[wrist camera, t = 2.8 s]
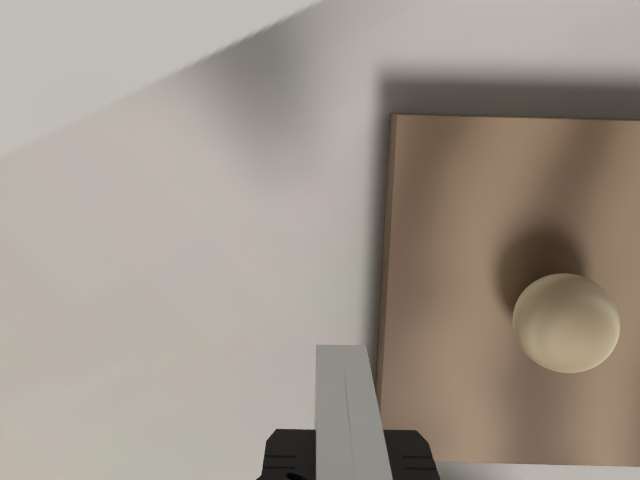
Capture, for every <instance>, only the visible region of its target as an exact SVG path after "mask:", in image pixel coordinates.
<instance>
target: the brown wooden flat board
mask: <svg viewBox="0 0 640 480" xmlns="http://www.w3.org/2000/svg"><path fill="white" fill-rule="evenodd" d="M560 273H568V274H575V275H579V276H582V277H585V278H587V279H589V280H591V281H593V282H595V283H596V284H598V285H599V286H600V287H602V288H603V289H604V290H605V291H606V292H607V293H608V295H609V296H610V297H611V299H612V300H613V302H614V304H615V305H616V308H617V311H618V314H619V318H620V334H619V338H618V341H617V344H616V346H615V348H614V350H613V351H612V353H611V354H610V355H609V356H608V357H607V359H605V360H604V361H603V362H602V363H601V364H599V365H598V366H596V367H594V368H592V369H589V370H586V371H583V372H578V373H561V372H556V371H552V370H549V369H547V368H544V367H542V366H540V365H539V364H537V363H536V362H534V361H533V360H532V359H531V358H530V357H528V356H527V355H526V353H525V352H524V351H523V350H522V348H521V347H520V345H519V343H518V342H517V339H516V337H515V333H514V329H513V311H514V307H515V304H516V302H517V300H518V298H519V296H520V295H521V293H522V292H523V291H524V290H525V289H526V288H527V287H528V286H529V285H530V284H532V283H533V282H534V281H536V280H538V279H540V278H542V277H545V276H548V275H552V274H560ZM375 393H376V398H377V403H378V408H379V413H380V418H381V423H382V428H383V430H417V431H418V432H419V433H420V435H421V436H422V437H423V438H424V439H425V440H426V441H427V442H428V443H429V446H430V449H431V452H432V455H433V459H434V462H469V463H509V464H549V465H590V466H630V467H640V120H631V119H592V118H553V117H514V116H475V115H436V114H397V113H390V127H389V146H388V165H387V183H386V202H385V220H384V239H383V258H382V276H381V295H380V314H379V332H378V351H377V369H376V388H375Z"/></svg>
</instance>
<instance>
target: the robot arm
mask: <svg viewBox="0 0 640 480" xmlns="http://www.w3.org/2000/svg"><path fill="white" fill-rule="evenodd" d="M256 480H440V477H439V474H438V471H437V468H436V465H435V462H434V459H433V455H432V452H431V449H430V446H429V443H428V442H427V441H426V440H425V439H424V438H423V437H422V436H421V435H420V433H419V432H418V431H417V430H383V428H382V423H381V418H380V413H379V408H378V403H377V398H376V393H375V387H374V382H373V377H372V372H371V367H370V362H369V357H368V352H367V347H366V346H350V345H316V381H315V420H314V430H300V429H276V430H275V431H274V433H273V434H272V435H271V436H270V437H269V439H268V440H267V441H266V447H265V454H264V461H263V470H262V475H261V476H260V477H259V478H258V479H256Z"/></svg>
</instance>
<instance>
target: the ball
mask: <svg viewBox="0 0 640 480" xmlns="http://www.w3.org/2000/svg"><path fill="white" fill-rule="evenodd" d="M513 329H514V333H515V337H516V339H517V342H518V343H519V345H520V347H521V348H522V350H523V351H524V352H525V353H526V355H527V356H528V357H530V358H531V359H532V360H533V361H534V362H536V363H537V364H539V365H540V366H542V367H544V368H547V369H549V370H552V371H556V372H561V373H578V372H583V371H586V370H589V369H592V368H594V367H596V366H598V365H599V364H601V363H602V362H603V361H604V360H605V359H607V357H608V356H609V355H610V354H611V353H612V351H613V350H614V348H615V346H616V344H617V341H618V338H619V334H620V318H619V314H618V311H617V308H616V305H615V304H614V302H613V300H612V299H611V297H610V296H609V295H608V293H607V292H606V291H605V290H604V289H603V288H602V287H600V286H599V285H598V284H596V283H595V282H593V281H591V280H589V279H587V278H585V277H582V276H579V275H575V274H568V273H560V274H552V275H548V276H545V277H542V278H540V279H538V280H536V281H534V282H533V283H532V284H530V285H529V286H528V287H527V288H526V289H525V290H524V291H523V292H522V293H521V295H520V296H519V298H518V300H517V302H516V304H515V307H514V311H513Z"/></svg>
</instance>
